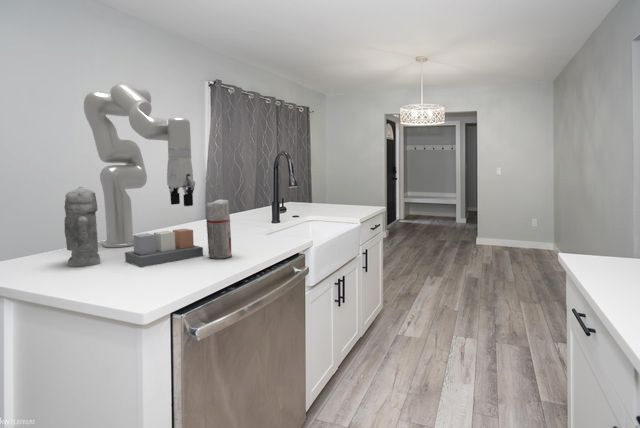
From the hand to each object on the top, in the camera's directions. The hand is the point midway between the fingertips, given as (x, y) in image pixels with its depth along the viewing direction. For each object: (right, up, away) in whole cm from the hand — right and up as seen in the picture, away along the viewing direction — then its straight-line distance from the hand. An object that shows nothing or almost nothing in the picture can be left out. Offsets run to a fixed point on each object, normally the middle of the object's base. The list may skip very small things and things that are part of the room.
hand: (181, 204), depth 148 cm
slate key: (-9, -16, -8) cm, 20 cm away
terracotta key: (0, -15, +2) cm, 15 cm away
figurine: (-29, -19, -9) cm, 36 cm away
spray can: (+14, -18, -1) cm, 23 cm away
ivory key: (-5, -15, -3) cm, 17 cm away
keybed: (-5, -18, -3) cm, 19 cm away
